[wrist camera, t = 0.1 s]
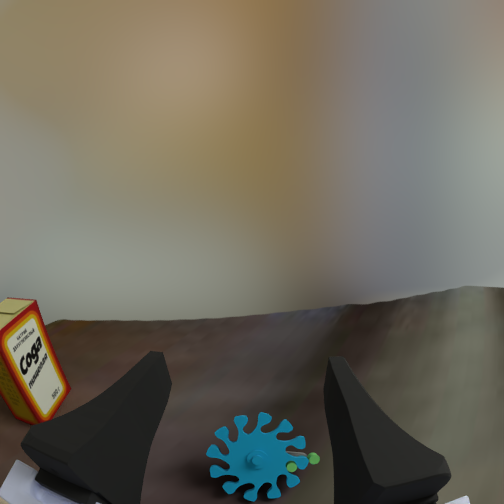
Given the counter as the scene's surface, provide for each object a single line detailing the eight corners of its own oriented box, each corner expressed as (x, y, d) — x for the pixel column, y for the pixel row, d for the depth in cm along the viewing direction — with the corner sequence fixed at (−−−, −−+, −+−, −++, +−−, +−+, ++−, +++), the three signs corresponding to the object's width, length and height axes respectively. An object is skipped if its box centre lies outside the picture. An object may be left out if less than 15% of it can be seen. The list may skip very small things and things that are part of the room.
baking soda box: (45, 429, 28) (-7, 332, 23) (15, 418, 28) (-34, 325, 23) (71, 388, 37) (35, 297, 32) (42, 381, 37) (7, 295, 32)
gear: (198, 493, 22) (213, 404, 26) (207, 478, 27) (221, 403, 31) (310, 507, 21) (328, 419, 25) (302, 491, 26) (316, 415, 30)
